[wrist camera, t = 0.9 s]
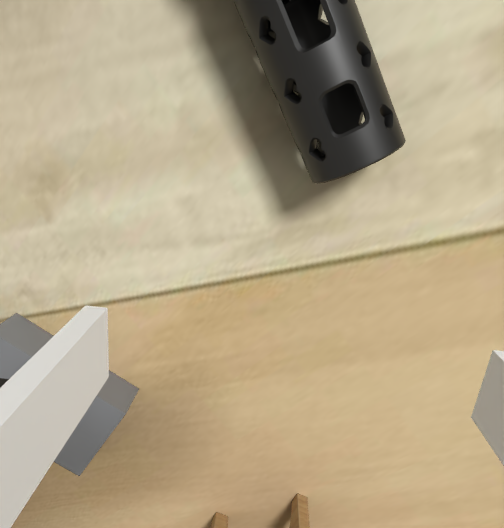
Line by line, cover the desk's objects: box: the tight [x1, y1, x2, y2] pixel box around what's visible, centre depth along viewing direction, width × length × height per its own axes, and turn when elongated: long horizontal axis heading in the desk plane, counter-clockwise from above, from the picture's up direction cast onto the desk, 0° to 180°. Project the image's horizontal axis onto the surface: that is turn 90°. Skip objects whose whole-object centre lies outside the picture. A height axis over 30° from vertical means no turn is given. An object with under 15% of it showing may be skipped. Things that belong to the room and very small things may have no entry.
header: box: [0, 313, 139, 476], centre depth 52 cm, size 18×12×5 cm, turn 54°
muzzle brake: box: [234, 0, 405, 183], centre depth 36 cm, size 10×28×10 cm, turn 26°
